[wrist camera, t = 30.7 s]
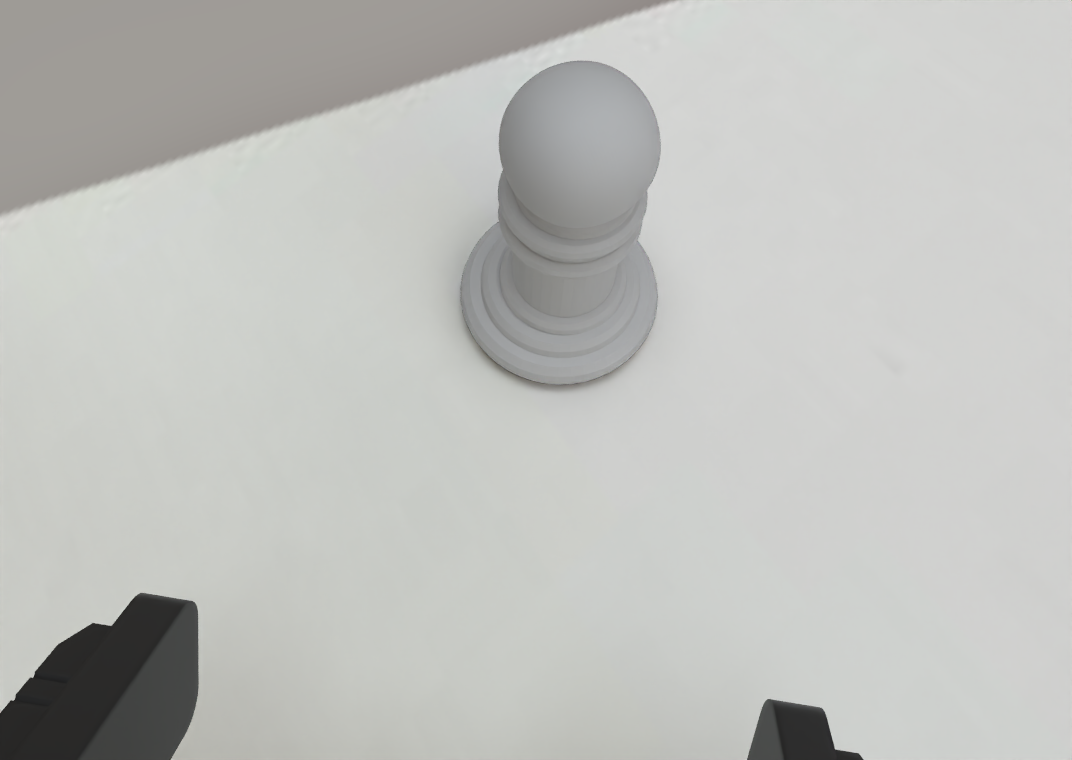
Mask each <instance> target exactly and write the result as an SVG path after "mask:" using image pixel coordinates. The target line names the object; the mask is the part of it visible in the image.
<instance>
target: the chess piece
mask: <svg viewBox="0 0 1072 760" xmlns="http://www.w3.org/2000/svg"><path fill="white" fill-rule="evenodd" d="M660 150H661V142H660V132H659V127H658V123H657V120H656V116H655V114H654V111H653V109H652V107H651V105H650V103H649V101H648V99H647V98H646V96H645V95H644V93H643V92H642V90H641V89H640V88H639V87H638V86H637V85H636V84H635V83H634V82H633V81H632V80H631V79H630V78H629V77H627V76H626V75H625V74H623V73H622V72H620V71H618V70H617V69H615V68H613V67H610V66H608V65H605V64H602V63H598V62H592V61H571V62H565V63H561V64H557V65H554V66H552V67H549V68H547V69H545V70H543V71H541V72H540V73H538V74H537V75H535V76H534V77H532V78H531V79H530V80H529V81H527V82H526V83H525V84H524V85H523V86H522V87H521V88H520V89H519V90H518V92H517V93H516V94H515V95H514V97H513V98H512V100H511V101H510V103H509V105H508V107H507V109H506V111H505V113H504V116H503V119H502V122H501V126H500V132H499V152H500V159H501V163H502V167H503V171H502V173H501V177H500V180H499V186H498V200H499V209H498V217H499V222H498V223H496V224H495V225H493V226H492V227H491V228H490V229H489V230H488V231H487V232H486V233H485V234H484V235H483V236H482V238H481V239H480V240H479V241H478V243H477V244H476V246H475V247H474V249H473V251H472V252H471V254H470V256H469V258H468V261H467V263H466V265H465V268H464V272H463V275H462V281H461V305H462V311H463V314H464V318H465V321H466V324H467V326H468V328H469V330H470V332H471V334H472V335H473V337H474V338H475V340H476V341H477V343H478V344H479V345H480V347H481V348H482V349H483V350H484V351H485V352H486V353H487V355H488V356H490V357H491V358H492V359H493V360H494V361H495V362H496V363H498V364H499V365H500V366H502V367H503V368H505V369H506V370H508V371H510V372H512V373H514V374H516V375H518V376H520V377H523V378H526V379H528V380H531V381H536V382H540V383H545V384H556V385H562V384H575V383H582V382H586V381H589V380H593V379H596V378H598V377H601V376H603V375H605V374H607V373H609V372H611V371H612V370H614V369H616V368H617V367H619V366H620V365H622V364H623V363H624V362H625V361H627V360H628V359H629V358H630V357H631V356H632V355H633V354H634V353H635V352H636V351H637V350H638V349H639V348H640V346H641V345H642V343H643V342H644V341H645V339H646V337H647V335H648V334H649V332H650V330H651V327H652V325H653V322H654V319H655V315H656V310H657V298H658V294H657V283H656V279H655V275H654V271H653V268H652V265H651V263H650V260H649V258H648V256H647V254H646V252H645V251H644V249H643V247H642V246H641V245H640V243H639V242H638V241H637V240H638V237H639V234H640V231H641V227H642V220H643V217H644V215H645V211H646V207H647V189H648V188H649V186H650V184H651V183H652V181H653V179H654V176H655V174H656V171H657V168H658V165H659V160H660Z"/></svg>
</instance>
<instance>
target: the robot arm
mask: <svg viewBox="0 0 1072 760" xmlns="http://www.w3.org/2000/svg"><path fill="white" fill-rule="evenodd" d="M197 696H198V610H197V606H196V604H195V602H193V601H188V600H182V599H176V598H170V597H164V596H158V595H152V594H146V593H140V594H138V595H137V596H135V597H134V599H133V600H132V601H131V602H130V603H129V605H128V606H127V607H126V609H125V610H124V611H123V612H122V614H121V615H120V616H119V617H118V619H117V620H116V621H115V623H114V624H113V625H112V626H107V625H101V624H95V623H92V624H91V625H89V626H87V627H86V628H84V629H82V630H81V631H79V632H78V633H76V634H74V635H73V636H71V637H70V638H68V639H66V640H65V641H63V642H61V643H60V644H58V645H57V646H56V648H55V649H54V650H53V651H52V652H51V654H50V655H49V656H48V657H47V658H46V659H45V661H44V662H43V663H42V664H41V665H40V667H39V668H38V669H37V670H36V671H35V675H34V677H33V678H29V680H28V681H27V682H26V683H25V684H24V686H23V687H22V688H21V689H20V690H19V692H18V693H17V694H16V698H15V700H14V701H12V700H11V701H10V702H9V703H8V705H7V706H6V707H5V708H4V709H3V711H2V712H1V713H0V760H170V759H171V758H172V756H173V754H174V753H175V751H176V749H177V747H178V746H179V744H180V742H181V740H182V739H183V737H184V735H185V733H186V731H187V729H188V727H189V725H190V722H191V720H192V716H193V713H194V710H195V706H196V701H197ZM747 760H863V758H862V757H861V756H860V755H859V754H858V753H852V752H846V751H840V750H835V748H834V744H833V740H832V736H831V733H830V729H829V725H828V721H827V717H826V714H825V712H824V710H823V709H822V708H819V707H813V706H807V705H801V704H795V703H789V702H783V701H777V700H771V699H767V700H766V701H765V703H764V705H763V707H762V710H761V713H760V717H759V720H758V724H757V727H756V731H755V734H754V738H753V741H752V744H751V748H750V751H749V755H748V758H747Z"/></svg>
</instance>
